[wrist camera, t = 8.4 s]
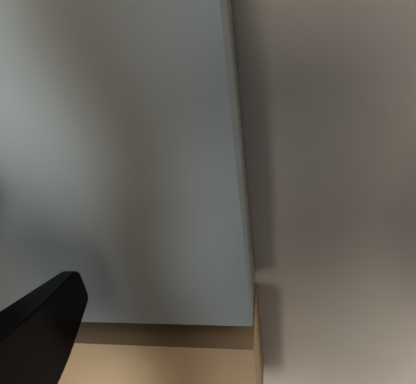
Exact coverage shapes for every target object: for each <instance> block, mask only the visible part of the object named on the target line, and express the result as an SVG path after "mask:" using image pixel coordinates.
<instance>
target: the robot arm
mask: <svg viewBox="0 0 416 384" xmlns="http://www.w3.org/2000/svg"><path fill="white" fill-rule="evenodd" d="M87 302H88V293H87V290H86V288H85V285H84V282H83V280H82V277H81V275H80V273H79V272H77V271H63V272H61V273H59V274H58V275H56V276H54V277H53V278H51V279H50V280H48V281H47V282H45V283H44V284H42V285H41V286H39V287H37V288H36V289H34V290H33V291H31V292H30V293H28V294H27V295H25V296H23V297H22V298H20V299H19V300H17V301H16V302H14V303H13V304H11V305H10V306H8V307H6V308H5V309H3V310H2V311H0V384H58V382H59V380H60V378H61V375H62V373H63V371H64V369H65V366H66V364H67V361H68V359H69V357H70V354H71V351H72V348H73V346H74V342H75V339H76V336H77V333H78V330H79V327H80V324H81V321H82V318H83V315H84V312H85V309H86V306H87Z"/></svg>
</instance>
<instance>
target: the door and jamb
mask: <svg viewBox="0 0 416 384" xmlns="http://www.w3.org/2000/svg"><path fill="white" fill-rule="evenodd" d="M63 271H77V272H79V273H80V275H81V277H82V280H83V282H84V285H85V288H86V290H87V293H88V302H87V306H86V309H85V312H84V315H83V318H82V321H81V324H80V327H79V330H78V333H77V336H76V339H75V342H74V346H73V348H72V351H71V354H70V357H69V359H68V361H67V364H66V366H65V369H64V371H63V373H62V375H61V378H60V380H59V382H58V384H263V357H262V345H261V334H260V322H259V311H258V299H257V288H256V283H254V282H255V265H254V254H253V242H252V231H251V219H250V208H249V196H248V185H247V174H246V162H245V151H244V139H243V128H242V116H241V105H240V93H239V82H238V71H237V59H236V48H235V36H234V25H233V13H232V2H231V0H0V311H2V310H3V309H5V308H6V307H8V306H10V305H11V304H13V303H14V302H16V301H17V300H19V299H20V298H22V297H23V296H25V295H27V294H28V293H30V292H31V291H33V290H34V289H36V288H37V287H39V286H41V285H42V284H44V283H45V282H47V281H48V280H50V279H51V278H53V277H54V276H56V275H58V274H59V273H61V272H63Z"/></svg>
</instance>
